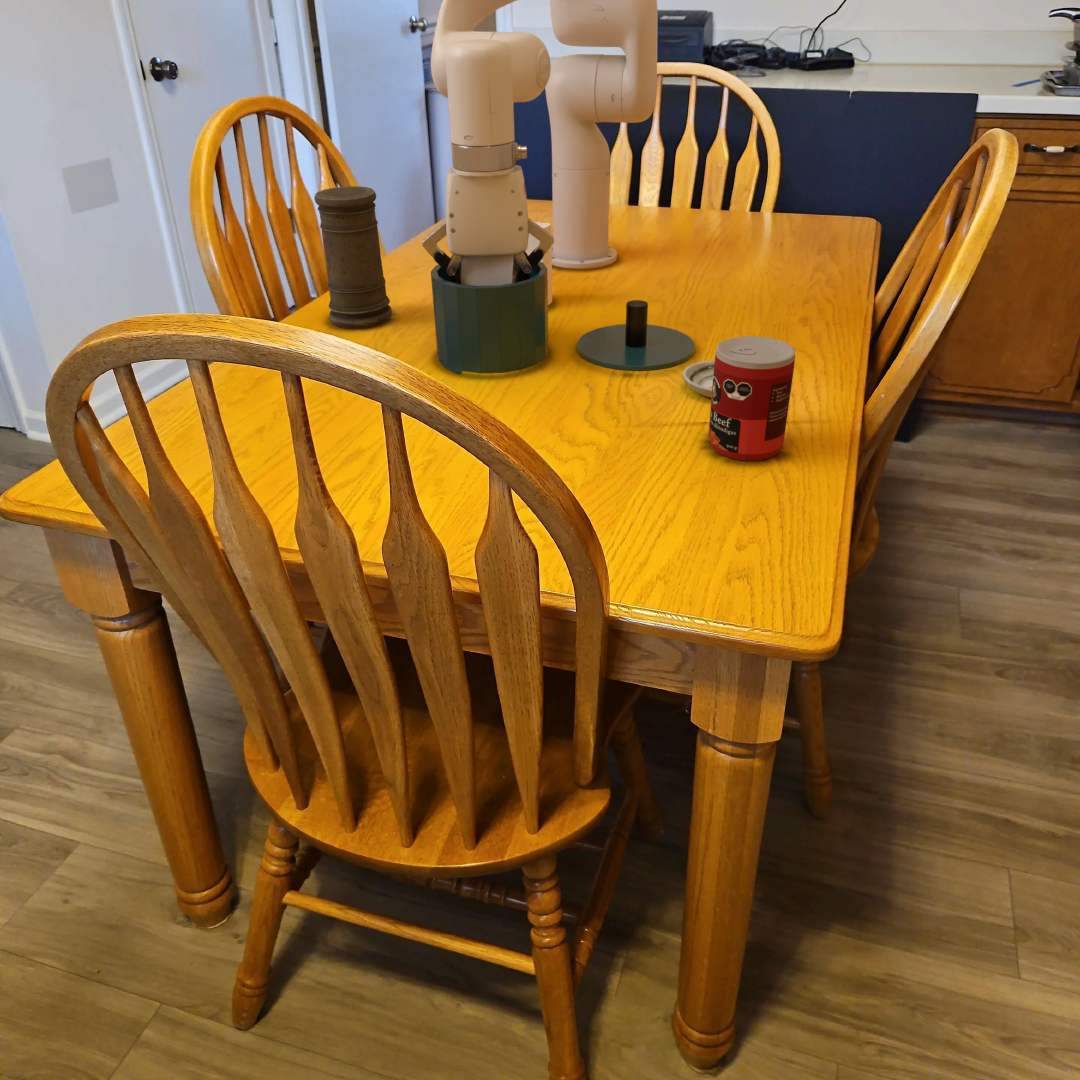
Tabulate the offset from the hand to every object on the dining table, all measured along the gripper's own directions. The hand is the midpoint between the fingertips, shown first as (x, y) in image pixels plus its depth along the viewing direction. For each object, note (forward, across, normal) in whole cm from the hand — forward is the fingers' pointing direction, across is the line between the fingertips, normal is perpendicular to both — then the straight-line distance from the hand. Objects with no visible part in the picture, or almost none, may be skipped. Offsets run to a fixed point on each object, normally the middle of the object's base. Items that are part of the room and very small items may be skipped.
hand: (491, 301), depth 120 cm
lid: (+7, -19, 0) cm, 20 cm away
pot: (+7, 0, 0) cm, 7 cm away
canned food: (+7, -28, +28) cm, 40 cm away
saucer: (+7, -28, +14) cm, 32 cm away
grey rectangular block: (+3, 0, 0) cm, 3 cm away
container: (+8, +20, -16) cm, 27 cm away
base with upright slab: (+8, -4, -21) cm, 22 cm away
